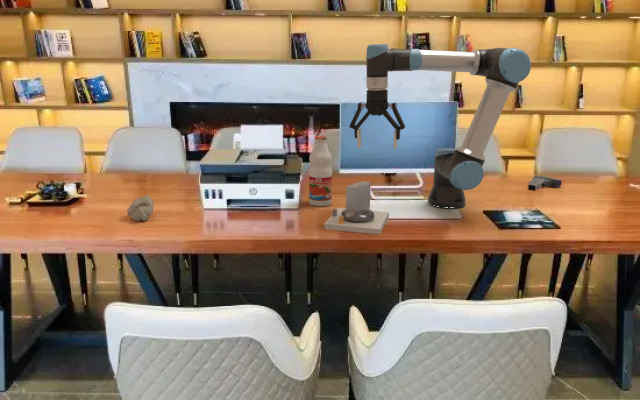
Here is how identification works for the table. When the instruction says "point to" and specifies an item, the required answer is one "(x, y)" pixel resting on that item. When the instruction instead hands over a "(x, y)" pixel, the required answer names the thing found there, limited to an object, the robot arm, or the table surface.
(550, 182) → the infrared thermometer
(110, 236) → the table surface
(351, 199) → the dial knob
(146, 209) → the fossil replica
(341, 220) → the dial plate
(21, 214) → the table surface
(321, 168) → the fruit juice
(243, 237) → the table surface
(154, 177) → the table surface
